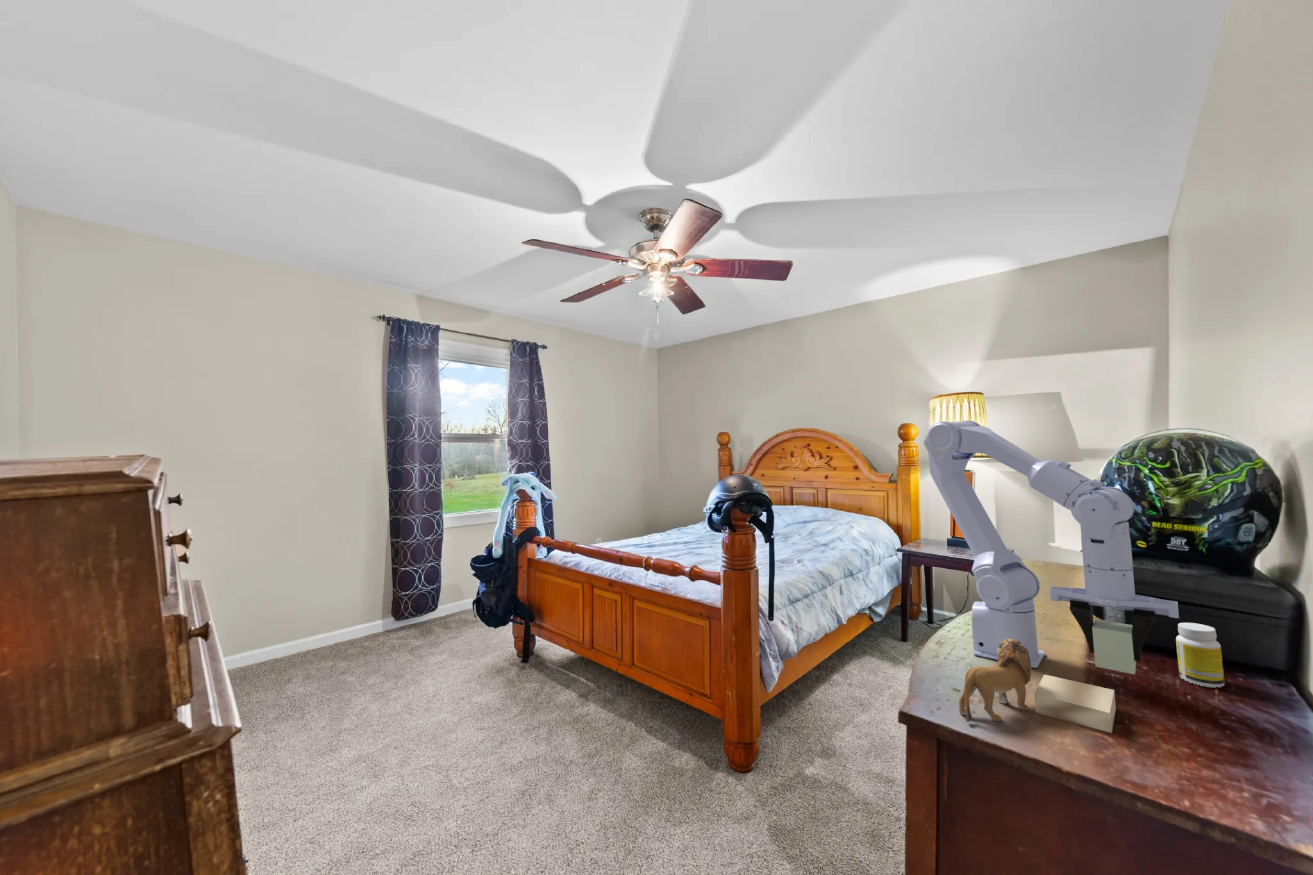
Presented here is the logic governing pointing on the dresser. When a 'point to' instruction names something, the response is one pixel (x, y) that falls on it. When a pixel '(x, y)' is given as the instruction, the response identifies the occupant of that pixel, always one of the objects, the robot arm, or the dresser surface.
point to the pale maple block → (1076, 702)
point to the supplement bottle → (1199, 655)
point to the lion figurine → (999, 679)
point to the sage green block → (1114, 646)
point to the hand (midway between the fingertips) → (1114, 654)
